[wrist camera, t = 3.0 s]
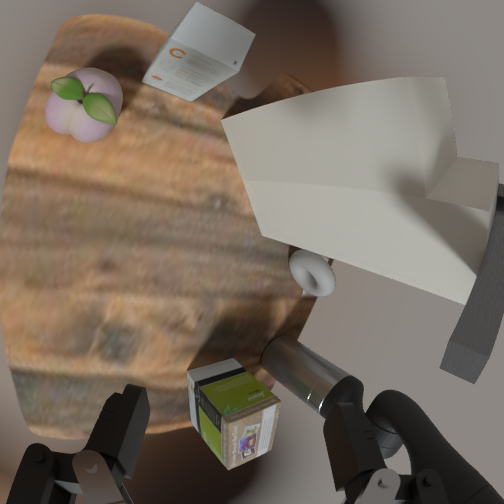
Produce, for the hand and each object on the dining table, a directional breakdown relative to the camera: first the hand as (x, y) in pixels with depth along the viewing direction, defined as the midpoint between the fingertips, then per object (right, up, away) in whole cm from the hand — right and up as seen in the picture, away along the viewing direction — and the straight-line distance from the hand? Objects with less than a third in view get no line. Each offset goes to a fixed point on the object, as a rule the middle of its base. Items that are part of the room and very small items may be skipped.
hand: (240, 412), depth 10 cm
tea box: (-8, -20, +38) cm, 44 cm away
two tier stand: (+4, +21, +34) cm, 40 cm away
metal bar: (+21, +7, +7) cm, 23 cm away
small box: (-10, +31, +21) cm, 39 cm away
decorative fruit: (-20, +24, +16) cm, 35 cm away
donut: (+8, +4, +42) cm, 43 cm away
